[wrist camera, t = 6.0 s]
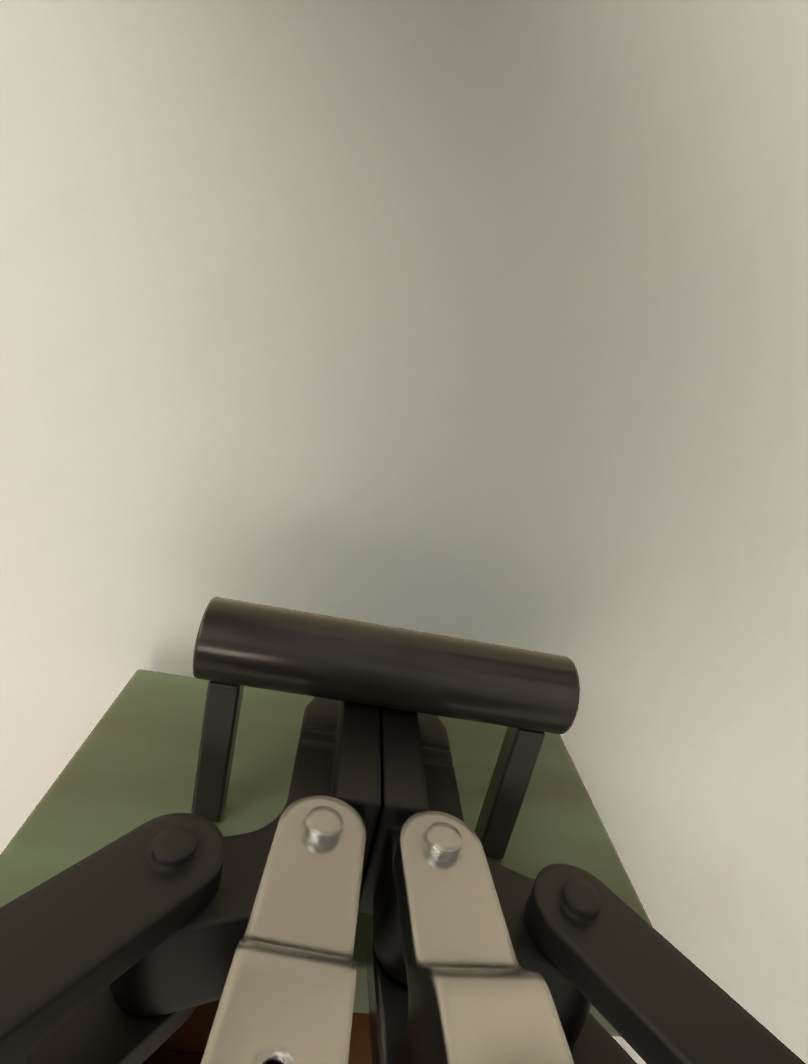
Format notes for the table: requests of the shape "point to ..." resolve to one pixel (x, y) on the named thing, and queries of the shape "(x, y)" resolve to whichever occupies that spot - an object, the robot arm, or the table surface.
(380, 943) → the robot arm
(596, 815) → the drawer
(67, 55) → the table surface
